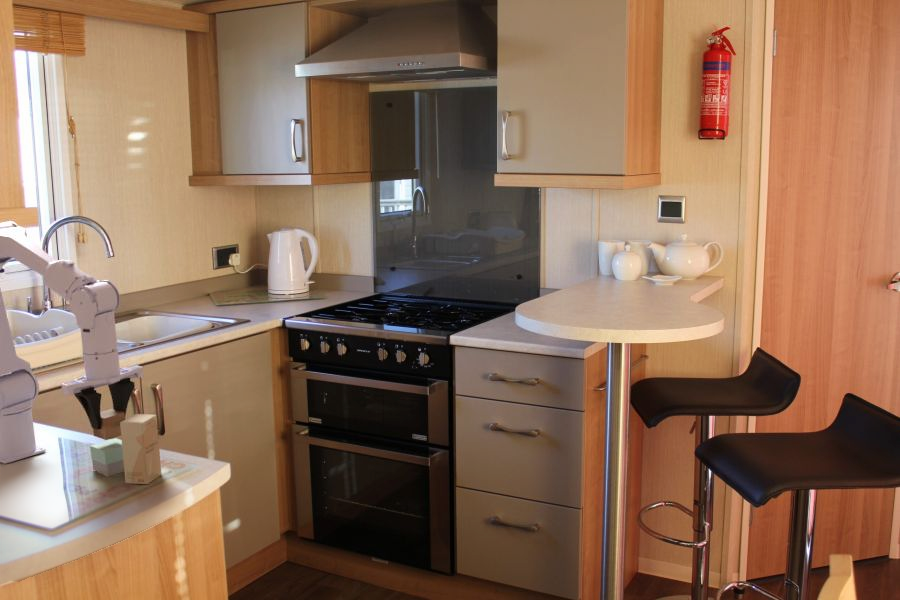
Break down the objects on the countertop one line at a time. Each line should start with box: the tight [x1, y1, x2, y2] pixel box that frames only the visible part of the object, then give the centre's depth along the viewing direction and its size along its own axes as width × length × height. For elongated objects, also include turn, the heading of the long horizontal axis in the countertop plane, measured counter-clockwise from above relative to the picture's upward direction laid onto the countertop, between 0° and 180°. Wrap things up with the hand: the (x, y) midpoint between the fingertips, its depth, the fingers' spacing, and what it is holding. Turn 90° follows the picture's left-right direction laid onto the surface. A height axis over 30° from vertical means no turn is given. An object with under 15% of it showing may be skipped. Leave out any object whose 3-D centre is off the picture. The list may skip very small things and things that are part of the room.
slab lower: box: [91, 458, 125, 477], centre depth 161 cm, size 5×5×2 cm
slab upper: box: [89, 437, 123, 465], centre depth 160 cm, size 5×5×2 cm
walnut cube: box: [92, 408, 126, 441], centre depth 159 cm, size 4×4×4 cm
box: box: [120, 413, 162, 485], centre depth 155 cm, size 5×4×11 cm
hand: (108, 424), depth 160 cm, fingers closed on walnut cube, 4 cm apart
